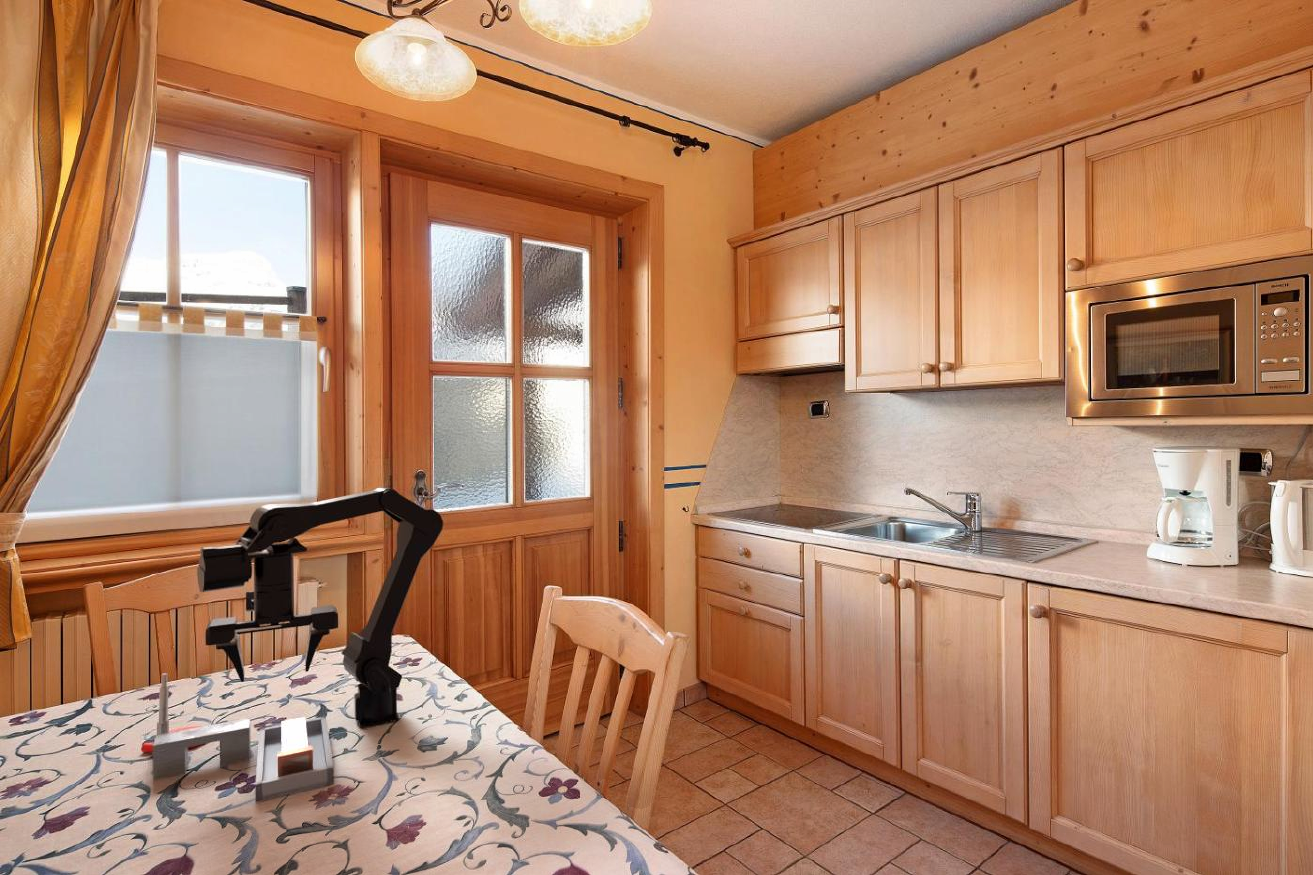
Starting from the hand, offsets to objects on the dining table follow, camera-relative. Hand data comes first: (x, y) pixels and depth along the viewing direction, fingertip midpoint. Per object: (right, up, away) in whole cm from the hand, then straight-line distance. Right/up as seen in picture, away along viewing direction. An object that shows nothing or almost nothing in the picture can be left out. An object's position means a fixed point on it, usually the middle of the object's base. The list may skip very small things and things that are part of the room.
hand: (275, 675), depth 112 cm
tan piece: (+6, -12, -5) cm, 14 cm away
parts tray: (+6, -12, -5) cm, 14 cm away
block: (-9, -12, -5) cm, 16 cm away
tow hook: (-17, -12, +2) cm, 21 cm away
